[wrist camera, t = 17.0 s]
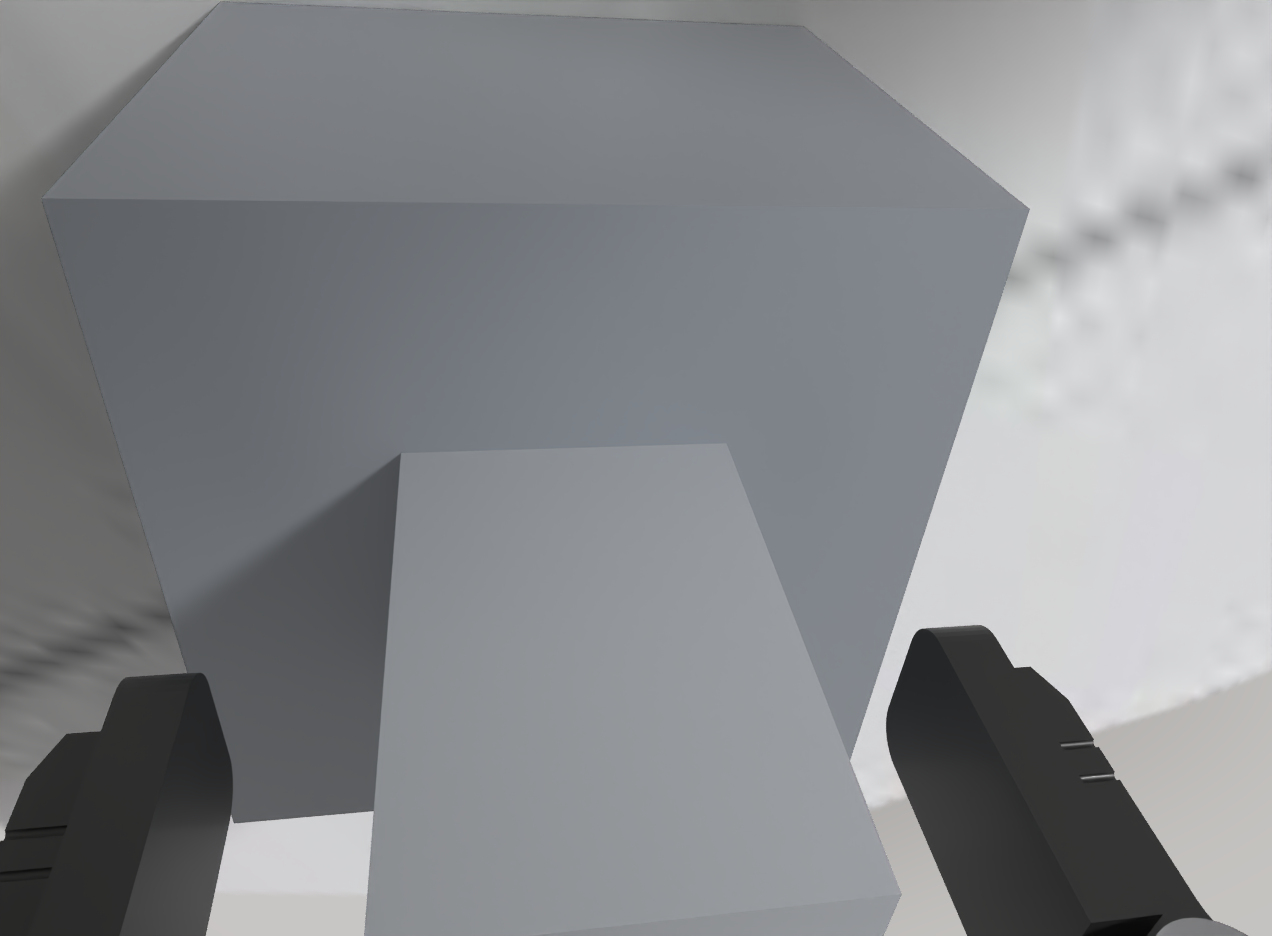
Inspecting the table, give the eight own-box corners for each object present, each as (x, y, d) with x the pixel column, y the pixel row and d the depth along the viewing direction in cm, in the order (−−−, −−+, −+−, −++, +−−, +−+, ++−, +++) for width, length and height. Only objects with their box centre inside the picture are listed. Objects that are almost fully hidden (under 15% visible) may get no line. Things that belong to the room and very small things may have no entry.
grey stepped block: (803, 26, 18) (1484, 576, 6) (732, 469, 24) (1000, 1171, 12) (220, 1, 16) (-409, 692, 4) (303, 484, 22) (133, 1314, 10)
